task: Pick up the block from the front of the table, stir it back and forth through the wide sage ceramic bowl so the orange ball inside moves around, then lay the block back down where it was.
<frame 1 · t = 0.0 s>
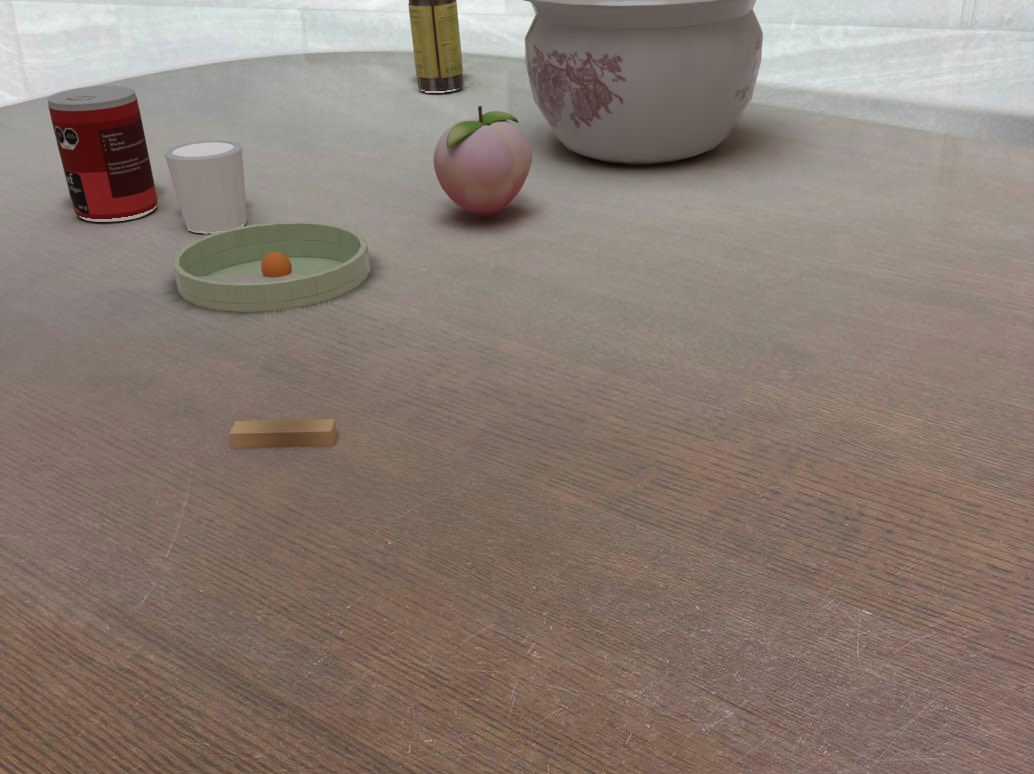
white cup: (217, 226, 113), on the table
bowl: (277, 293, 96), on the table
sauce bottle: (440, 91, 159), on the table
ball: (276, 267, 96), point 2 cm above the table, touching bowl
block: (288, 461, 72), on the table
canned food: (118, 214, 117), on the table
chamber pot: (642, 150, 131), on the table
decorative fruit: (483, 219, 112), on the table
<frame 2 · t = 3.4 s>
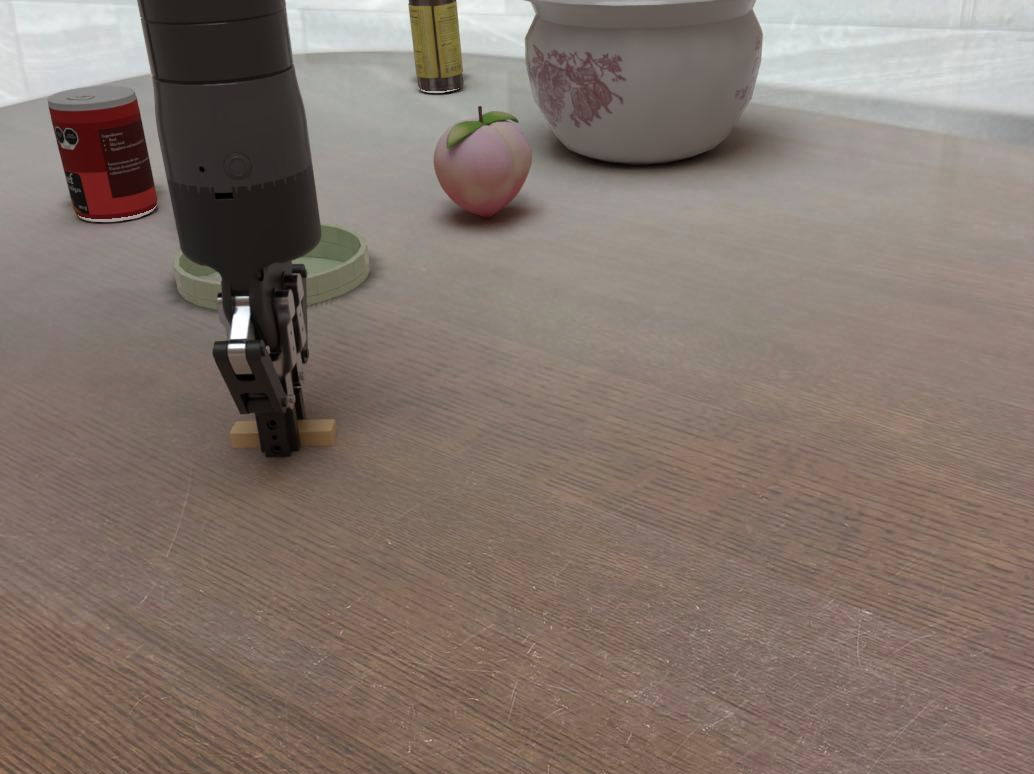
hand: (287, 453, 72), 1 cm above the table, tool pointing down, fingers closed on block, 1 cm apart
block: (288, 461, 72), on the table, touching gripper
everything else where it was.
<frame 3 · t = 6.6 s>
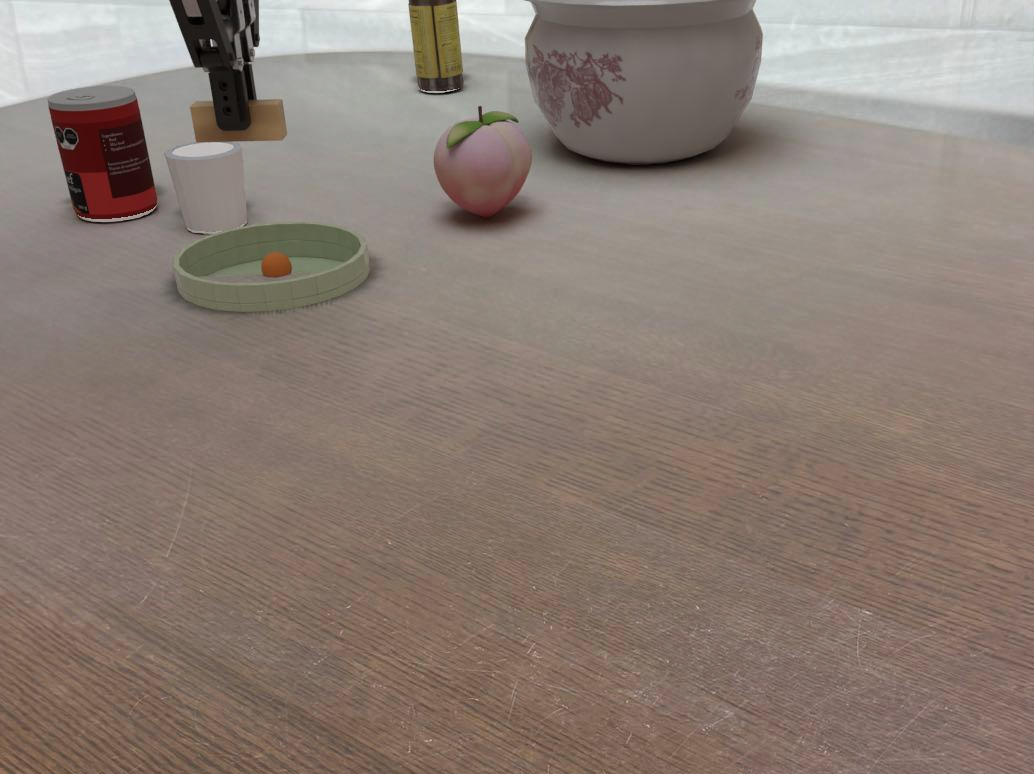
hand: (238, 124, 82), 15 cm above the table, tool pointing down, fingers closed on block, 1 cm apart
block: (242, 138, 83), point 14 cm above the table, touching gripper
everything else where it was.
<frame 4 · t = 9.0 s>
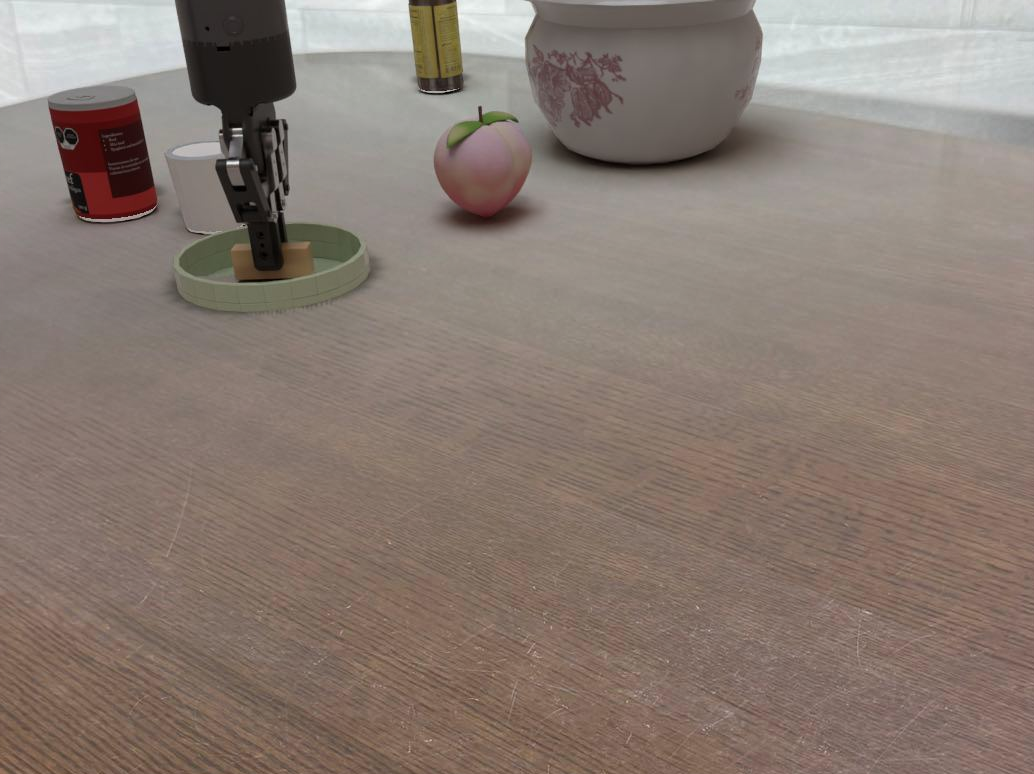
hand: (272, 263, 94), 3 cm above the table, tool pointing down, fingers closed on block
ball: (277, 267, 96), point 2 cm above the table, tilted 9°, touching bowl, gripper, block
block: (275, 275, 95), point 2 cm above the table, touching ball, gripper
everything else where it was.
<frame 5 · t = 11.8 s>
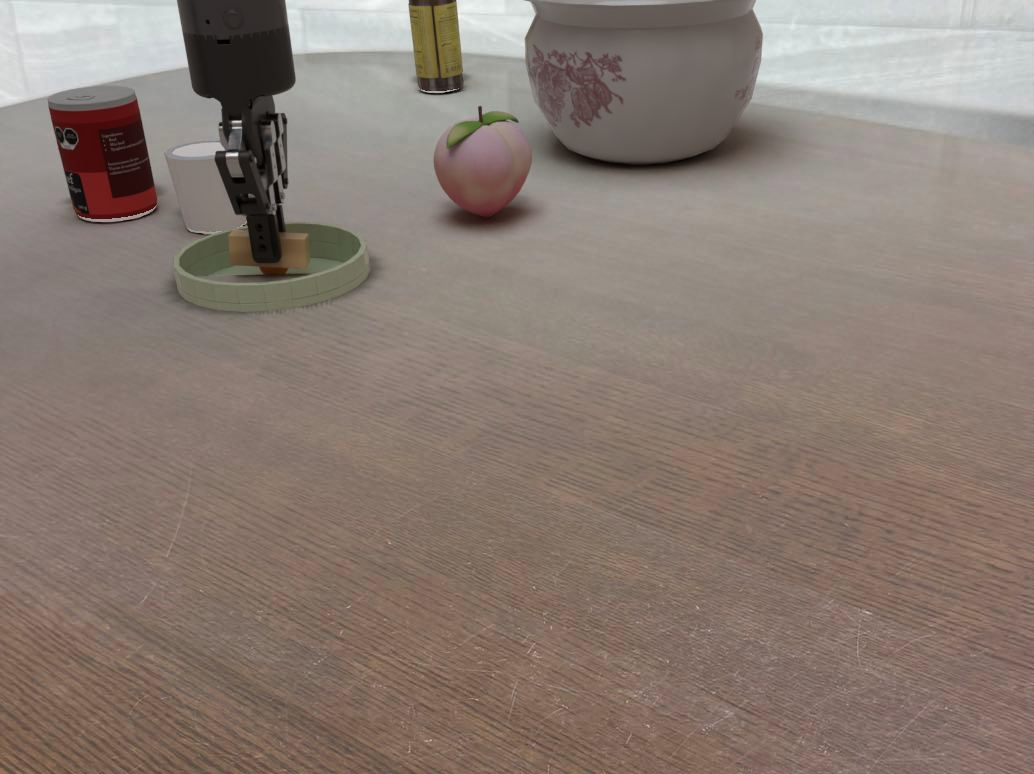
hand: (271, 256, 95), 3 cm above the table, tool pointing down, fingers closed on block
ball: (273, 263, 97), point 2 cm above the table, tilted 67°, touching bowl, gripper, block
block: (270, 264, 96), point 2 cm above the table, touching ball, gripper
everything else where it was.
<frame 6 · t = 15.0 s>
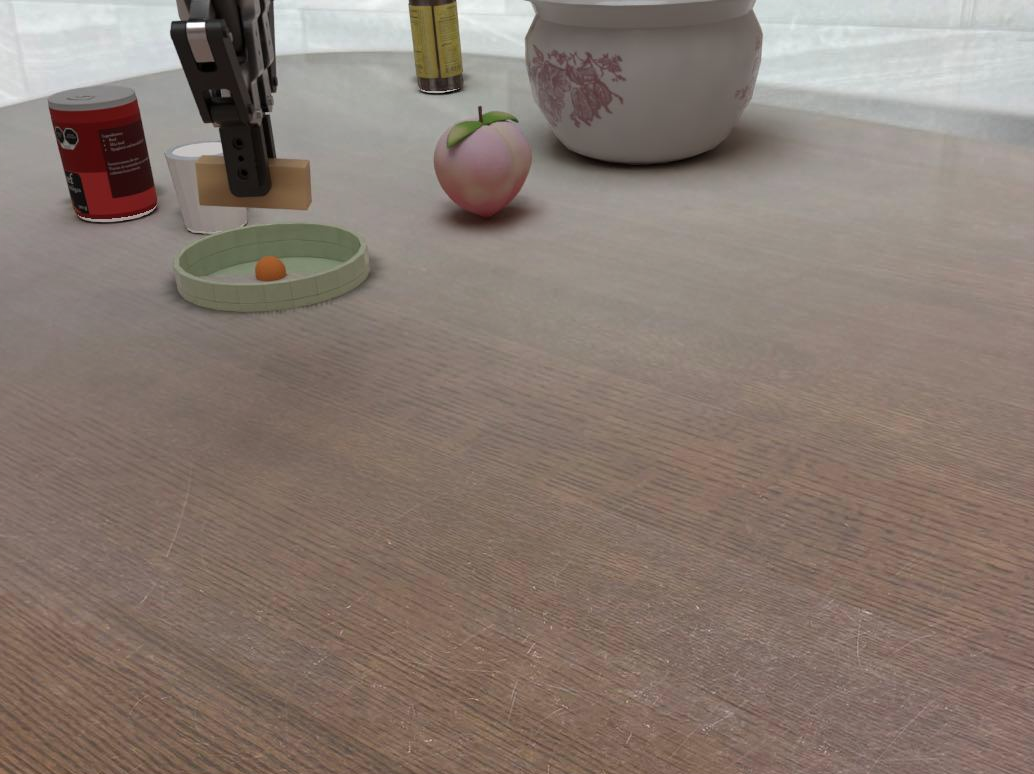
hand: (255, 188, 67), 15 cm above the table, tool pointing down, fingers closed on block, 1 cm apart
ball: (270, 271, 96), point 2 cm above the table, tilted 59°, touching bowl
block: (256, 204, 68), point 14 cm above the table, touching gripper
everything else where it was.
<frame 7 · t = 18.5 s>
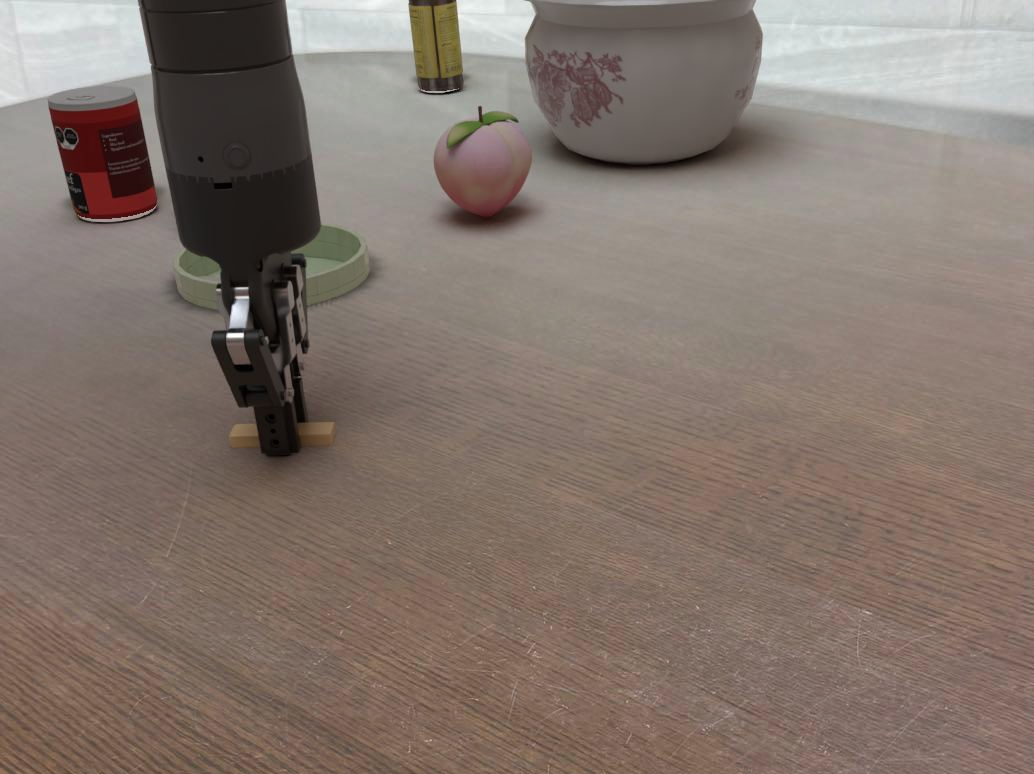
hand: (286, 445, 72), 1 cm above the table, tool pointing down, fingers closed
ball: (255, 297, 91), point 2 cm above the table, tilted 58°, touching bowl
block: (287, 464, 72), on the table
everything else where it was.
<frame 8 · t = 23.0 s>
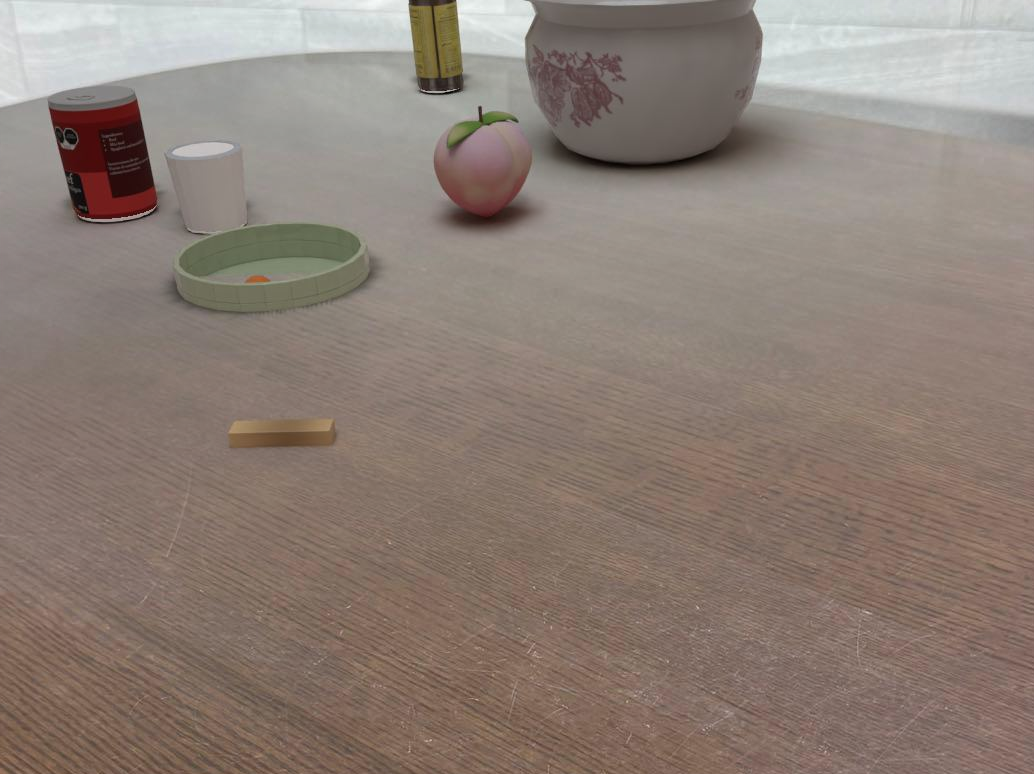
ball: (258, 291, 92), point 2 cm above the table, tilted 100°, touching bowl
everything else where it was.
at the end: ball moved 5.3 cm from its start; ball inside the target area in the bowl (4.3 cm from its centre), point 1.8 cm above the bowl's base; block inside the target area (0.1 cm from its centre), on the table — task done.
